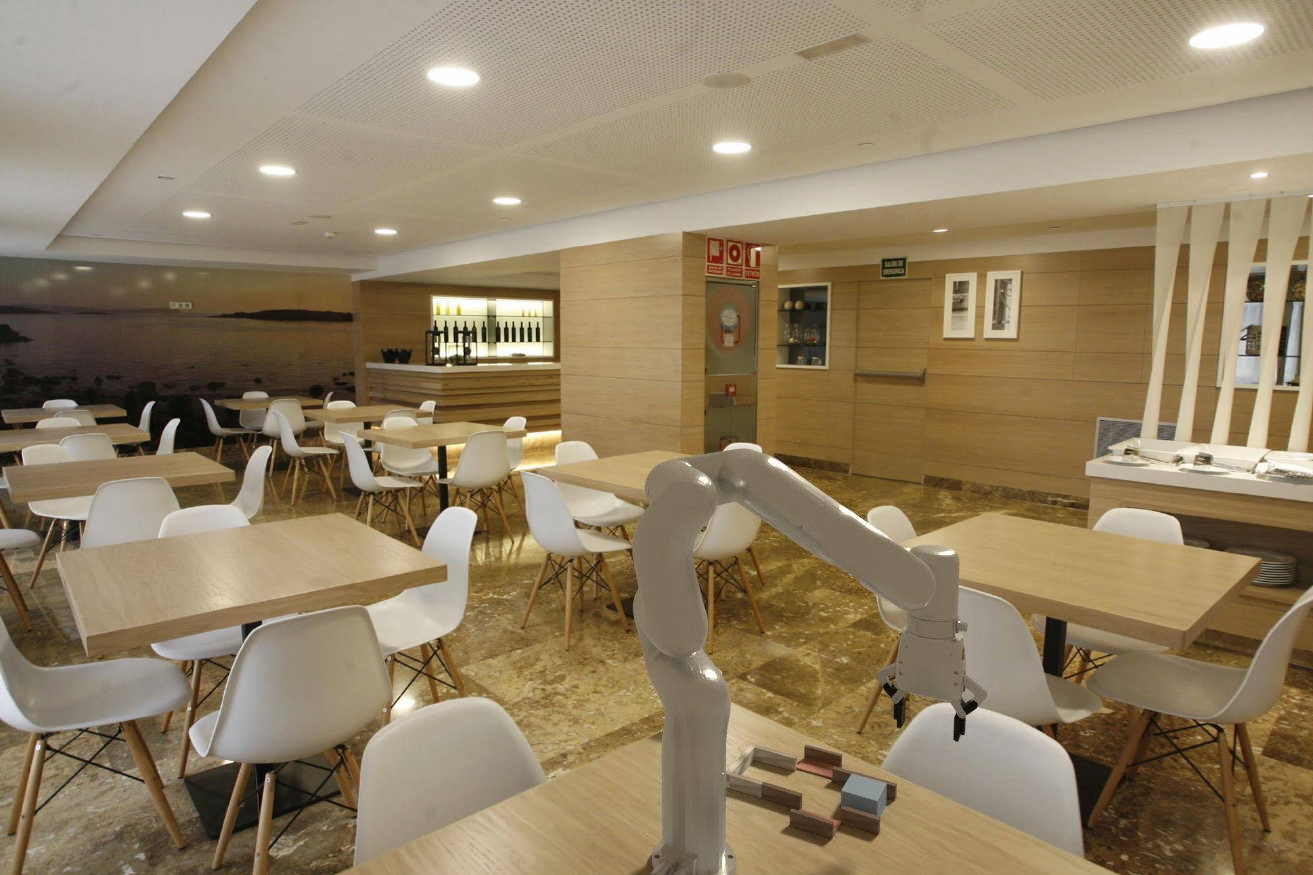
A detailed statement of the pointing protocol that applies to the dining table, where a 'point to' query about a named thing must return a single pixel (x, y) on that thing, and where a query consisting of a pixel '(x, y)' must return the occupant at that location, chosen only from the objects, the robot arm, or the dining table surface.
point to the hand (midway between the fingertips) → (928, 730)
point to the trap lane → (813, 763)
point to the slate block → (864, 794)
